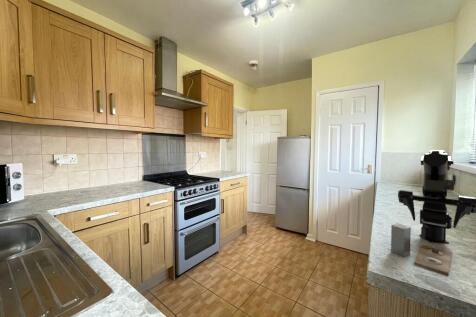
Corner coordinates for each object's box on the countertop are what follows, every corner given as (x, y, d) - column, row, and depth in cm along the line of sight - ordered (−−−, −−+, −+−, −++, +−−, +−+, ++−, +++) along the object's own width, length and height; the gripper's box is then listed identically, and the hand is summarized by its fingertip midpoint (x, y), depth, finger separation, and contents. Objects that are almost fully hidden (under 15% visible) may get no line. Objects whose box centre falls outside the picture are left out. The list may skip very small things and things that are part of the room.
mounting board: (422, 246, 75) (422, 240, 75) (451, 254, 69) (452, 247, 69) (414, 264, 64) (414, 257, 64) (448, 275, 58) (448, 267, 58)
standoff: (397, 249, 73) (397, 223, 73) (410, 254, 69) (410, 227, 69) (390, 252, 71) (391, 225, 71) (403, 257, 68) (404, 229, 67)
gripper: (398, 168, 71) (393, 206, 65) (479, 171, 58) (483, 220, 52) (401, 184, 78) (397, 220, 71) (474, 190, 64) (477, 236, 58)
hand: (433, 223), depth 63 cm, fingers open, 9 cm apart
